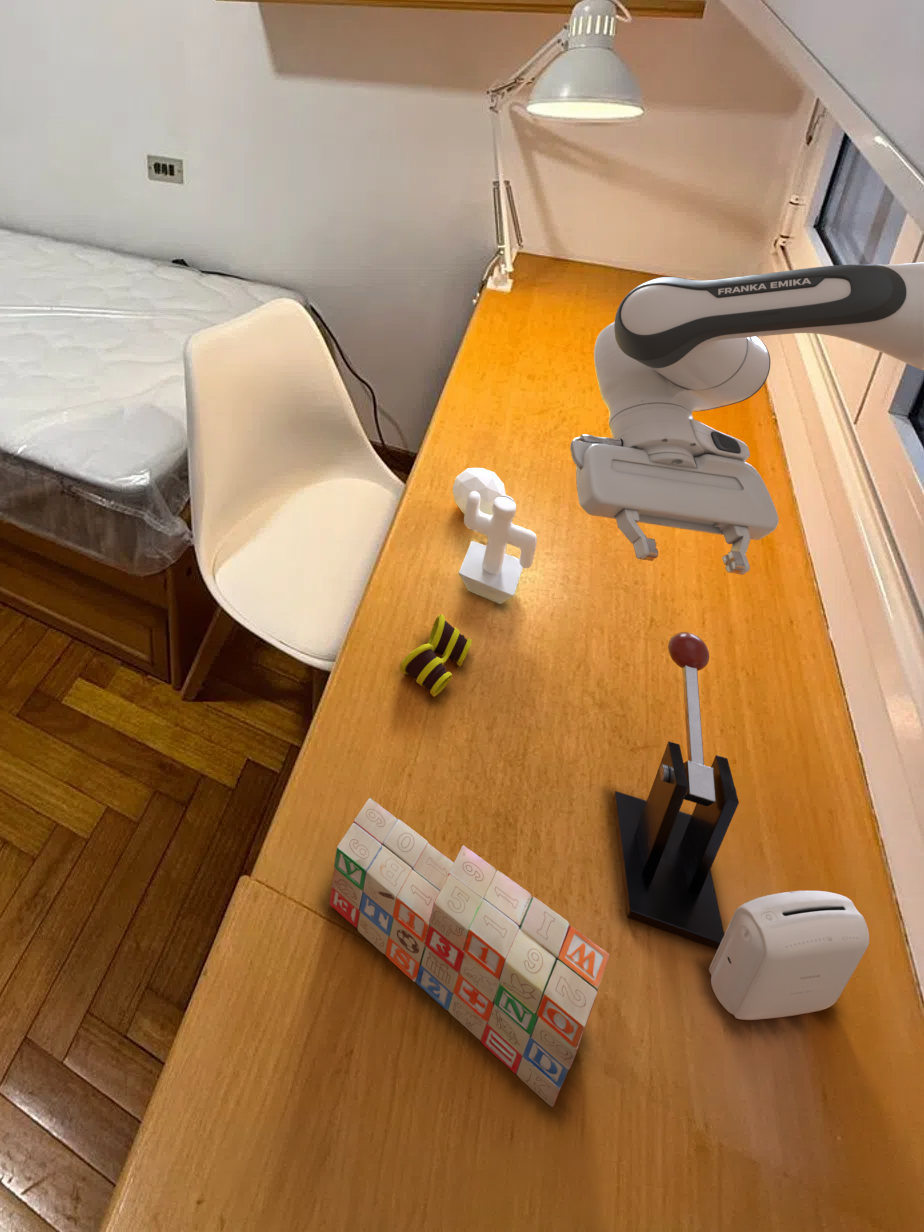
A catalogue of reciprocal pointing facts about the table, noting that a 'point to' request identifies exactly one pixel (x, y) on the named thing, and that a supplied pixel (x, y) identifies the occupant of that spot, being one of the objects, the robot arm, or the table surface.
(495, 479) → the geometric ball
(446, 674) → the opera glasses
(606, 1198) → the table surface
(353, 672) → the table surface
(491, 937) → the stack of blocks
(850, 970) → the photo printer
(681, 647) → the lever
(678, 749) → the bracket
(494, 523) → the figurine
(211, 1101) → the table surface
